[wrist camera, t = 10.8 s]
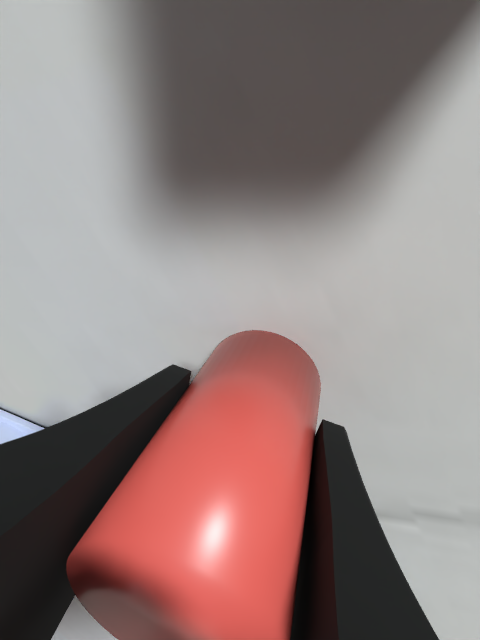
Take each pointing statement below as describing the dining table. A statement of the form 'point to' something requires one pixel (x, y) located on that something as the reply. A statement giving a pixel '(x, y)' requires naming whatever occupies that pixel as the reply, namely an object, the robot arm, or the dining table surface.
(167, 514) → the pin
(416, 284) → the dining table surface
